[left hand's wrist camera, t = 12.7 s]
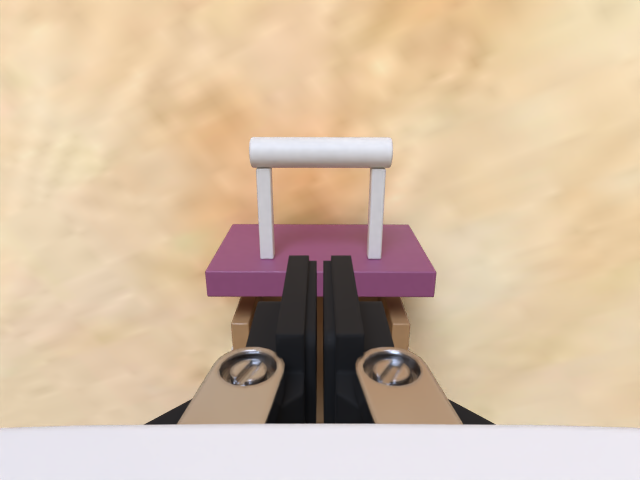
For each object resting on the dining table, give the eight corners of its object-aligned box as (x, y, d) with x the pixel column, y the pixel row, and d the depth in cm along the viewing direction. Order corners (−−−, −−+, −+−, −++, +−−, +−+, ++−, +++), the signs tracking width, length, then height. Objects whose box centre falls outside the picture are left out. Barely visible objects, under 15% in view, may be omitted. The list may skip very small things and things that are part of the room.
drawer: (225, 124, 23) (192, 142, 17) (416, 125, 23) (449, 143, 17) (245, 418, 30) (226, 505, 24) (394, 418, 30) (413, 506, 24)
